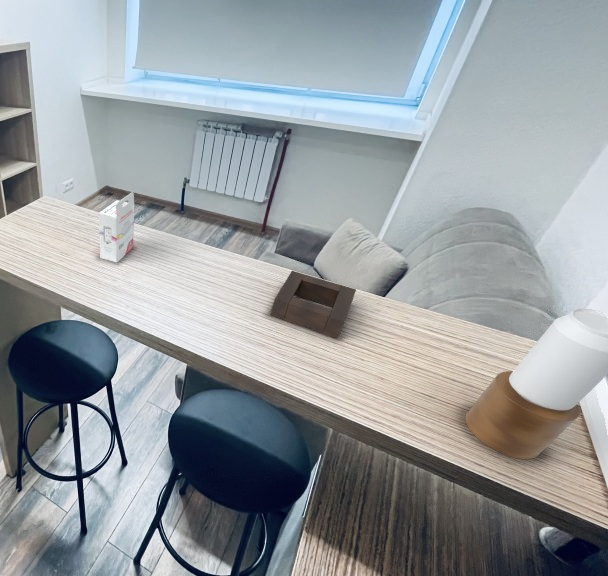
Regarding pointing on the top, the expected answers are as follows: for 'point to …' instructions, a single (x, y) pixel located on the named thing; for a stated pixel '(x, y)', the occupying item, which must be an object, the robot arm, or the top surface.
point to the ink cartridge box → (117, 229)
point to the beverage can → (565, 361)
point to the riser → (515, 421)
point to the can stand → (309, 312)
